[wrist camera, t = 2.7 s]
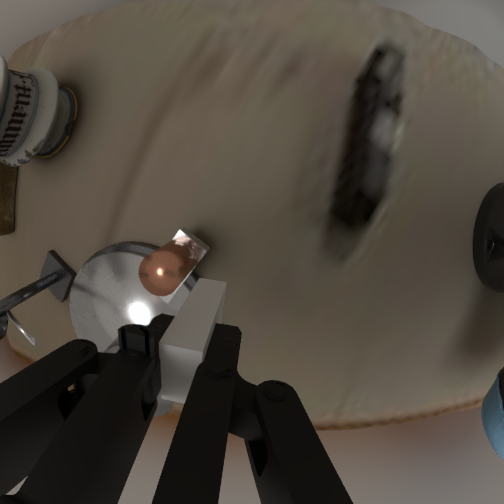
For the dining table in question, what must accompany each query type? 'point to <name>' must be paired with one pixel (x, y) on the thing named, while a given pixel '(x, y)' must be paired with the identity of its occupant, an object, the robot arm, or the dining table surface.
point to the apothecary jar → (33, 114)
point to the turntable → (132, 287)
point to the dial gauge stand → (52, 277)
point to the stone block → (7, 198)
